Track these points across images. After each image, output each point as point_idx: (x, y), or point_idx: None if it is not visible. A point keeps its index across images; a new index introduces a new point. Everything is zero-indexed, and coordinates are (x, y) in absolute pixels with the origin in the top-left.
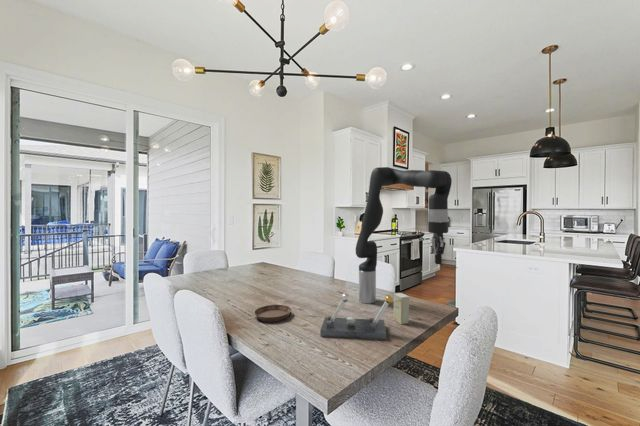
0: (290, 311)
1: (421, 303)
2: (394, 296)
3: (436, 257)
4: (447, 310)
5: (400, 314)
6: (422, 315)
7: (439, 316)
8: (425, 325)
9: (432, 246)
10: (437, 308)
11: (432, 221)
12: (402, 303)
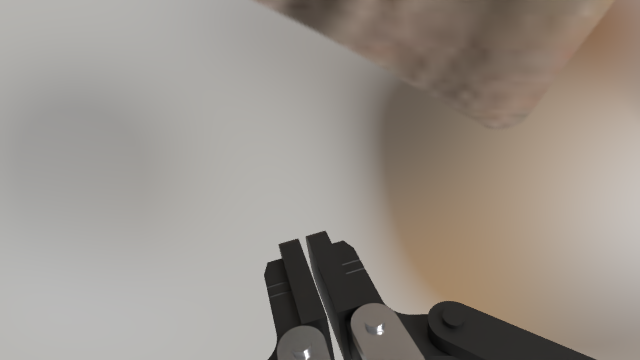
0: None
1: (573, 4)
2: None
3: (296, 303)
4: (492, 108)
5: None
6: (435, 6)
7: (431, 77)
8: (325, 17)
9: (558, 344)
10: (513, 72)
11: None
12: None
